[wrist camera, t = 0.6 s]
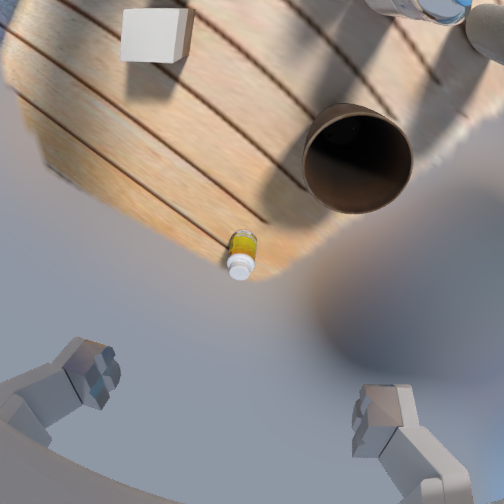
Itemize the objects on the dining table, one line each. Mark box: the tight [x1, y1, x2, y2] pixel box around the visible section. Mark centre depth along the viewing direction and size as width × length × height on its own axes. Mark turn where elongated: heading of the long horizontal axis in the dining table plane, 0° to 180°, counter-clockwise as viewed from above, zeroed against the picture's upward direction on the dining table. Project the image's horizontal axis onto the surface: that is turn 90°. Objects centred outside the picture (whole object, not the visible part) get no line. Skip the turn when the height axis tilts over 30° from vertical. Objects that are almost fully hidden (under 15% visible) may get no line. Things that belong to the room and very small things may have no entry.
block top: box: [120, 8, 188, 63], centre depth 35 cm, size 8×8×4 cm
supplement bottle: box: [227, 230, 257, 280], centre depth 66 cm, size 6×6×10 cm
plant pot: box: [302, 103, 413, 214], centre depth 44 cm, size 15×15×16 cm
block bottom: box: [180, 8, 195, 59], centre depth 39 cm, size 8×8×4 cm
